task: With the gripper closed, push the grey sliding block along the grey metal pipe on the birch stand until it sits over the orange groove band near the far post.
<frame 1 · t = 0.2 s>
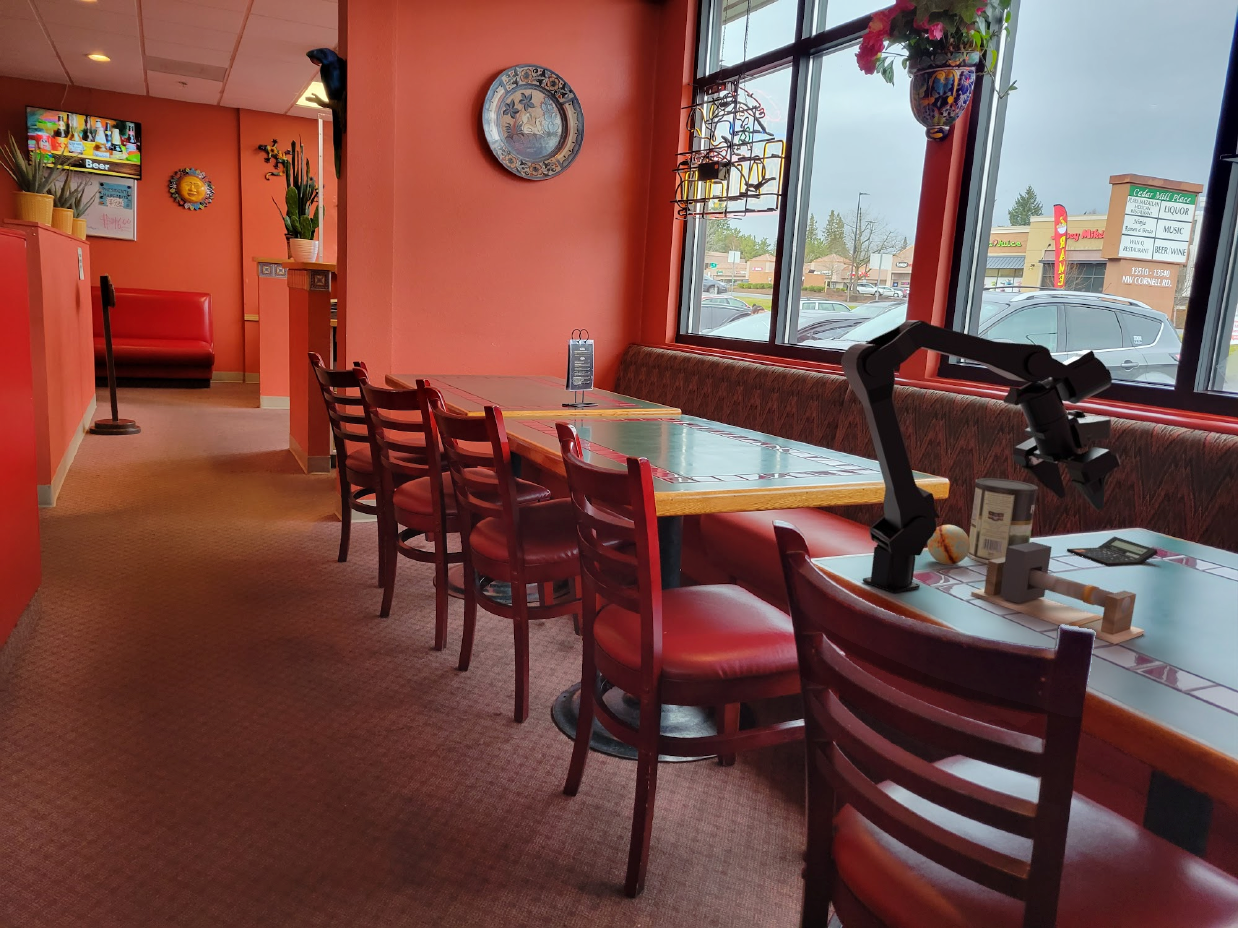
hand: (1080, 503, 138), 14 cm above the table, tool tilted 30°, fingers open, 9 cm apart
pipe stand: (1052, 613, 128), on the table
ball: (946, 564, 152), on the table
grey sliding block: (1025, 572, 131), point 5 cm above the table, slide at 0.0 cm
calculator: (1110, 560, 163), on the table
coffee can: (996, 559, 157), on the table
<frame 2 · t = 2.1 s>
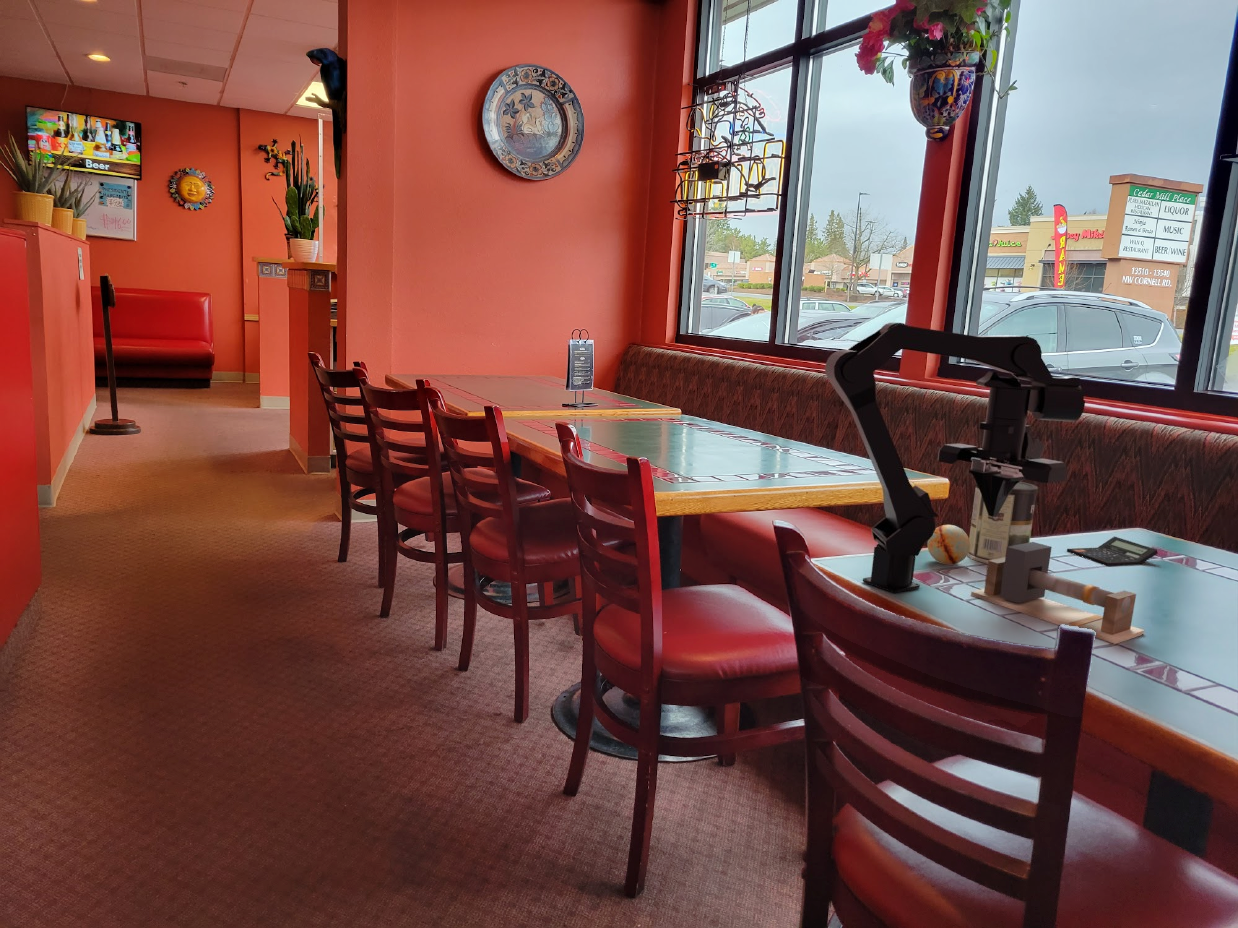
hand: (992, 516, 135), 12 cm above the table, tool pointing down, fingers closed
nothing on the table moved.
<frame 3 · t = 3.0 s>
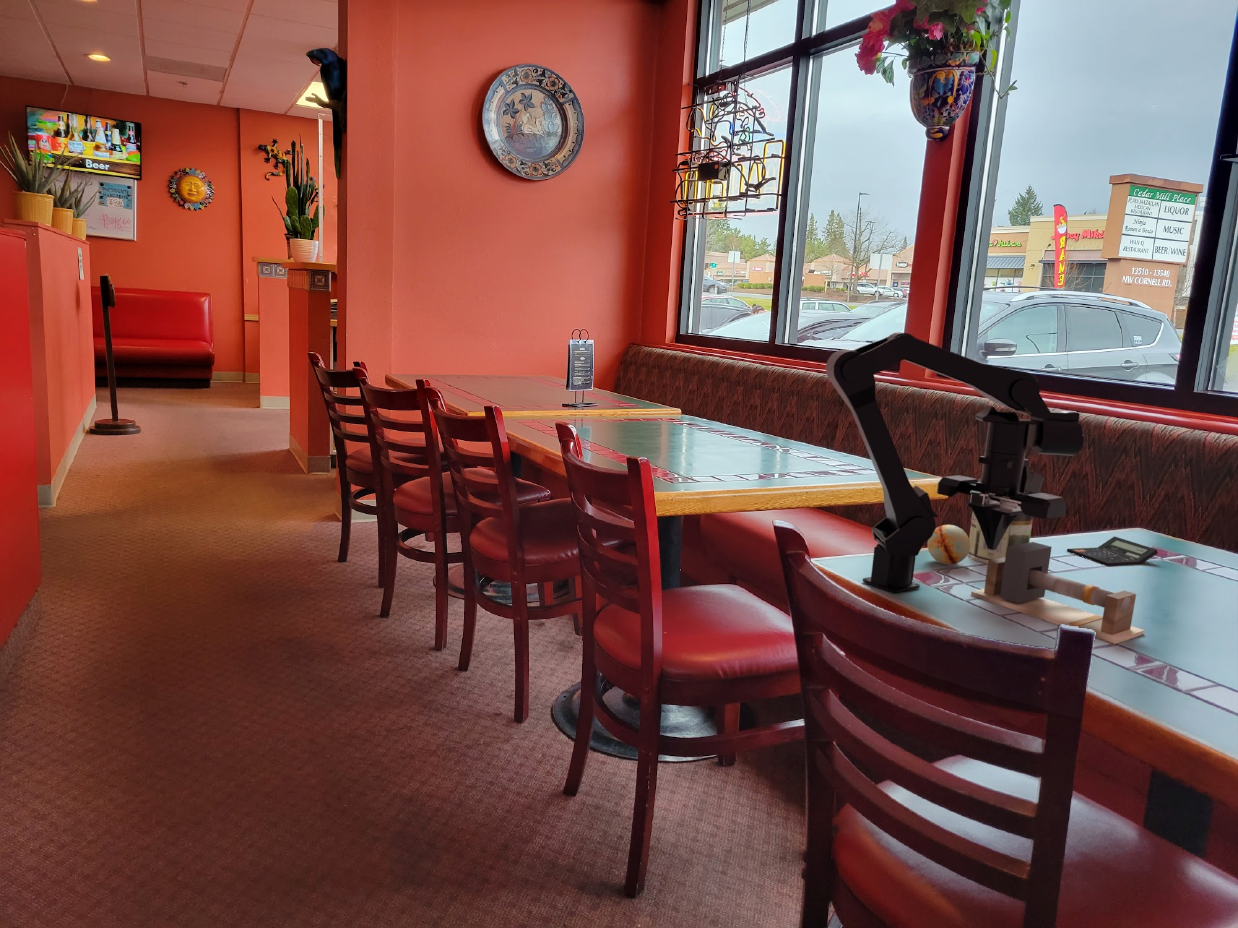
hand: (991, 549, 136), 7 cm above the table, tool pointing down, fingers closed
nothing on the table moved.
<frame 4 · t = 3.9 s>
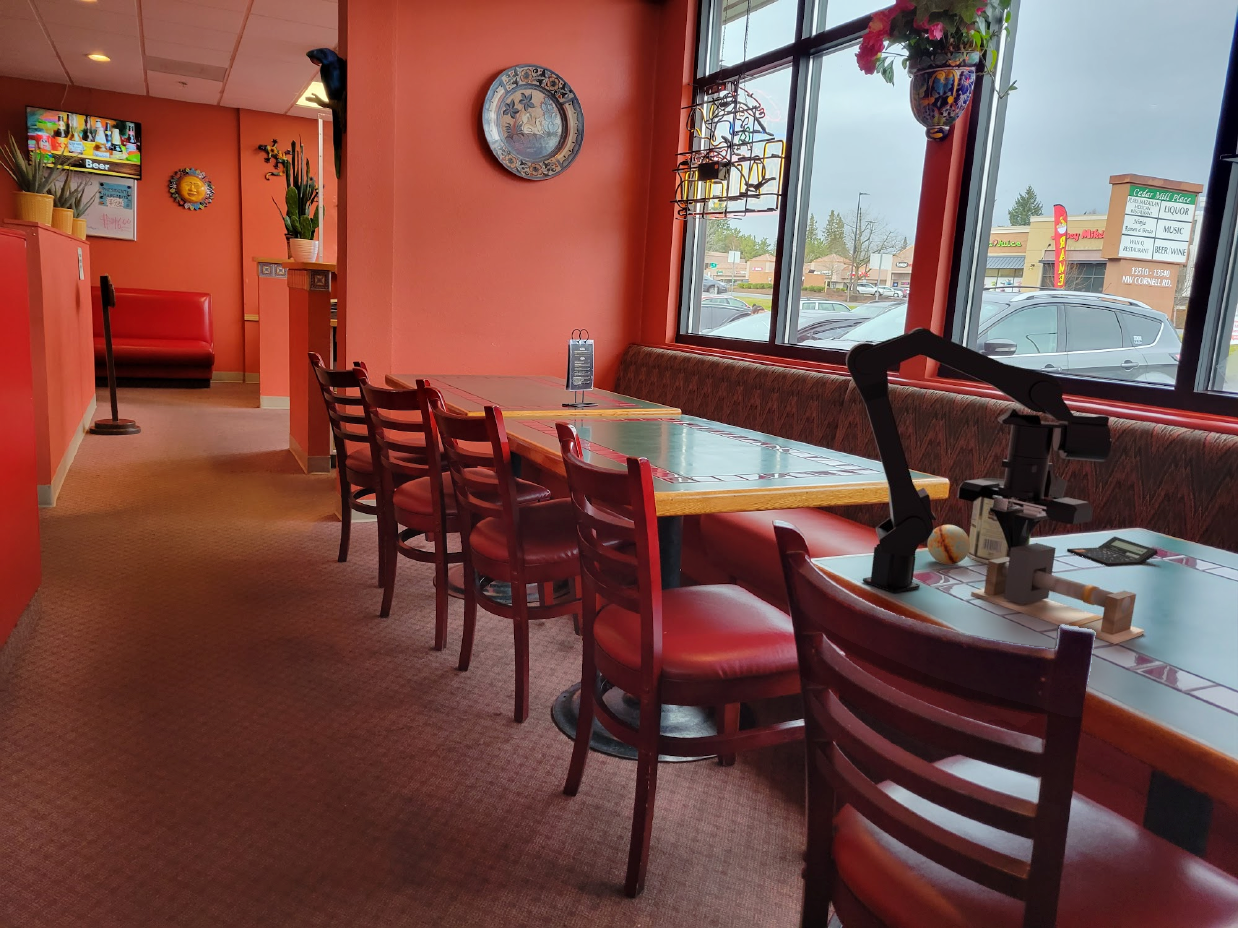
hand: (1014, 555, 132), 7 cm above the table, tool pointing down, fingers closed
grey sliding block: (1029, 573, 131), point 5 cm above the table, slide at 0.6 cm, touching gripper
everything else where it was.
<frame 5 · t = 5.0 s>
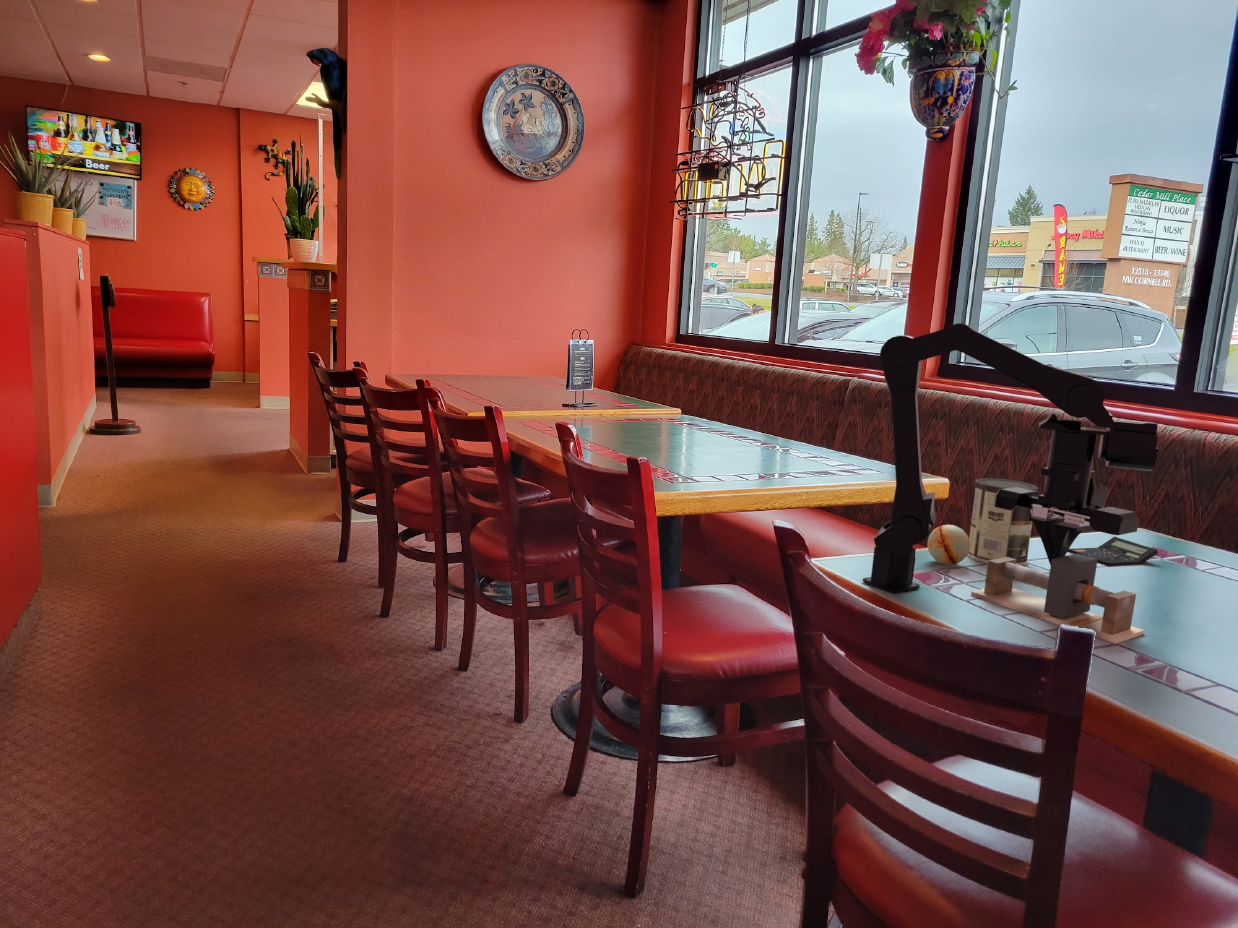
hand: (1054, 566, 127), 7 cm above the table, tool pointing down, fingers closed
grey sliding block: (1070, 585, 125), point 5 cm above the table, slide at 7.0 cm, touching gripper
everything else where it was.
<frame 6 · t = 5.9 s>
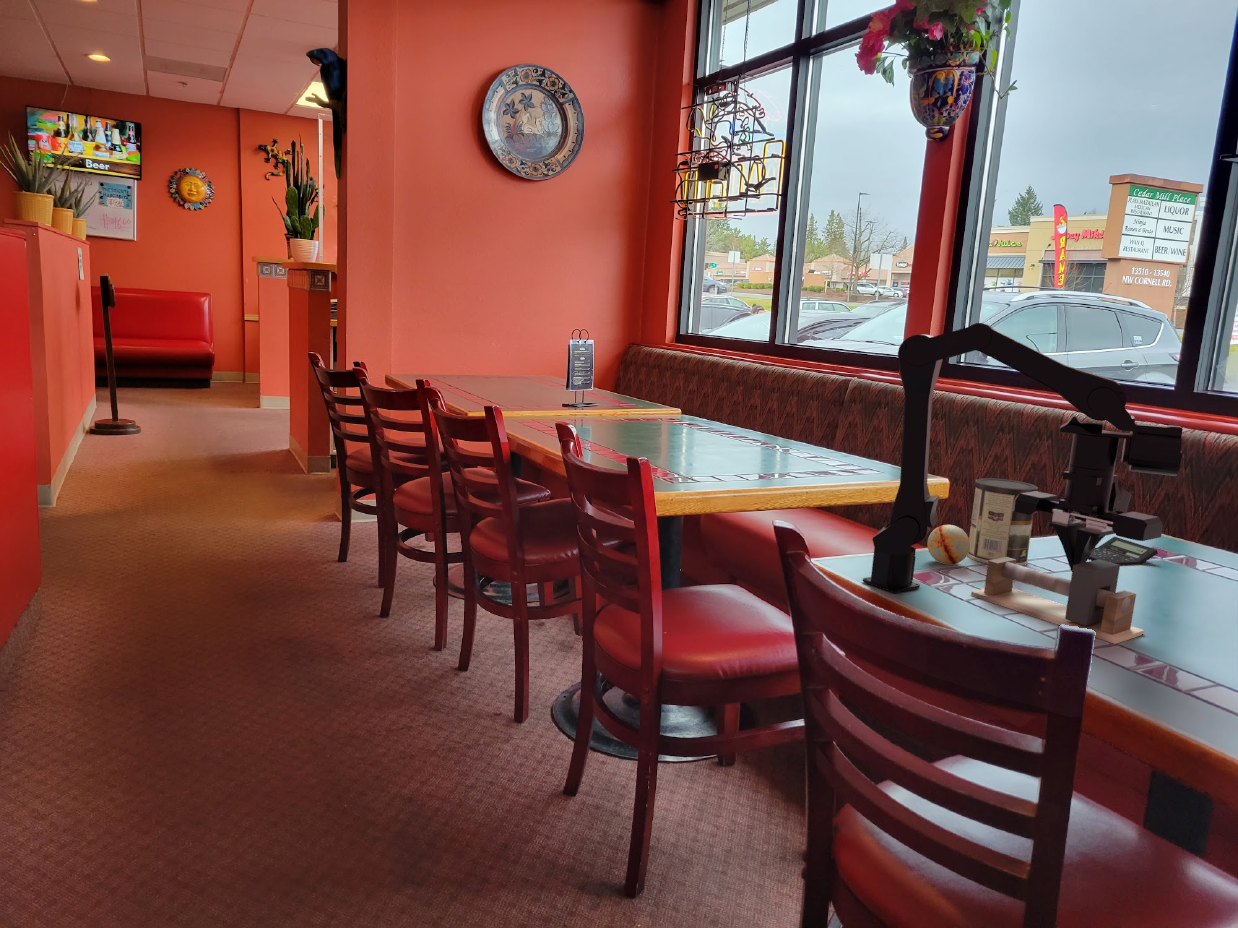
hand: (1075, 572, 125), 7 cm above the table, tool pointing down, fingers closed
grey sliding block: (1092, 591, 123), point 5 cm above the table, slide at 10.1 cm, touching gripper
everything else where it was.
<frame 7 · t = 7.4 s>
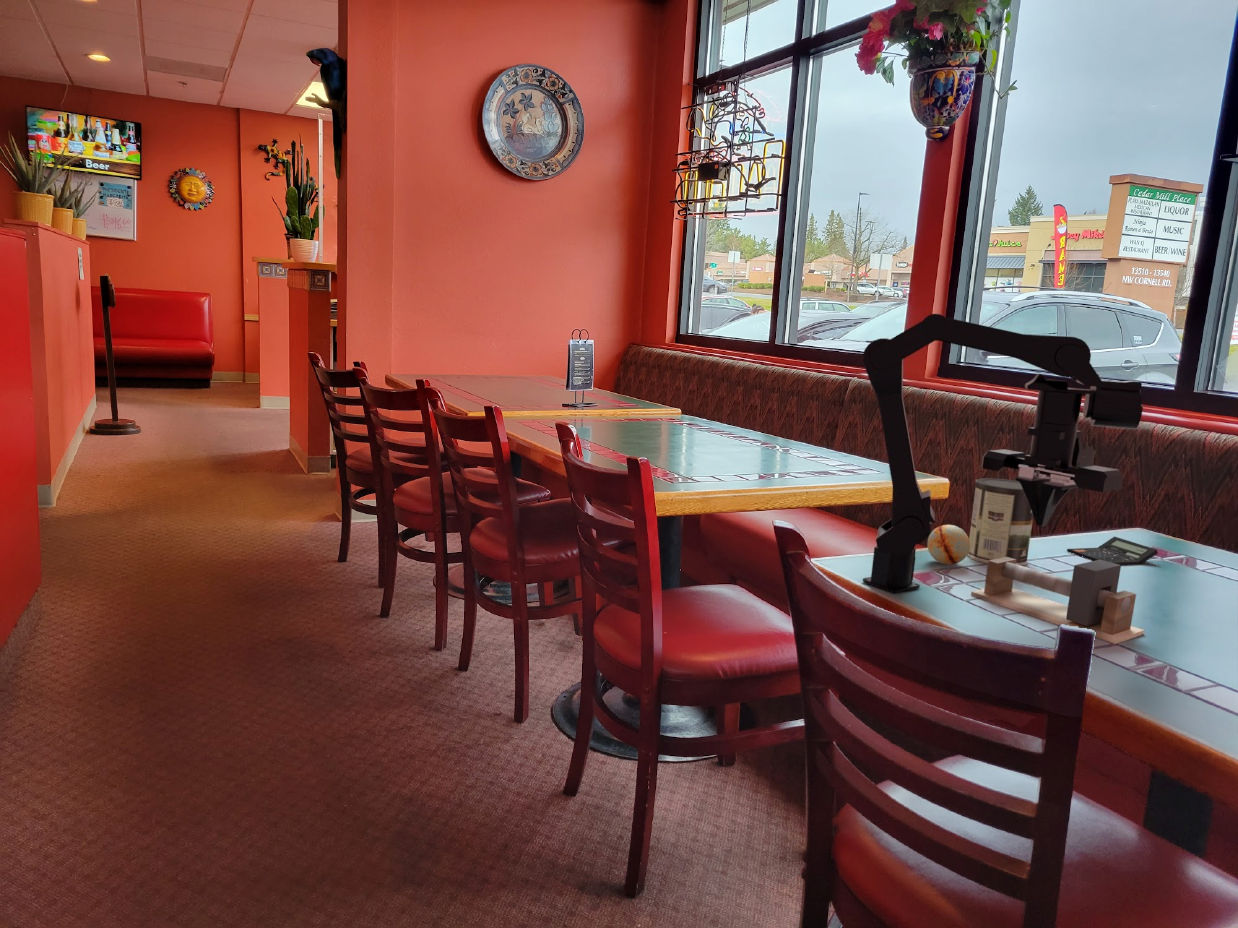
hand: (1041, 525, 129), 13 cm above the table, tool pointing down, fingers closed
grey sliding block: (1093, 592, 123), point 5 cm above the table, slide at 10.3 cm
everything else where it was.
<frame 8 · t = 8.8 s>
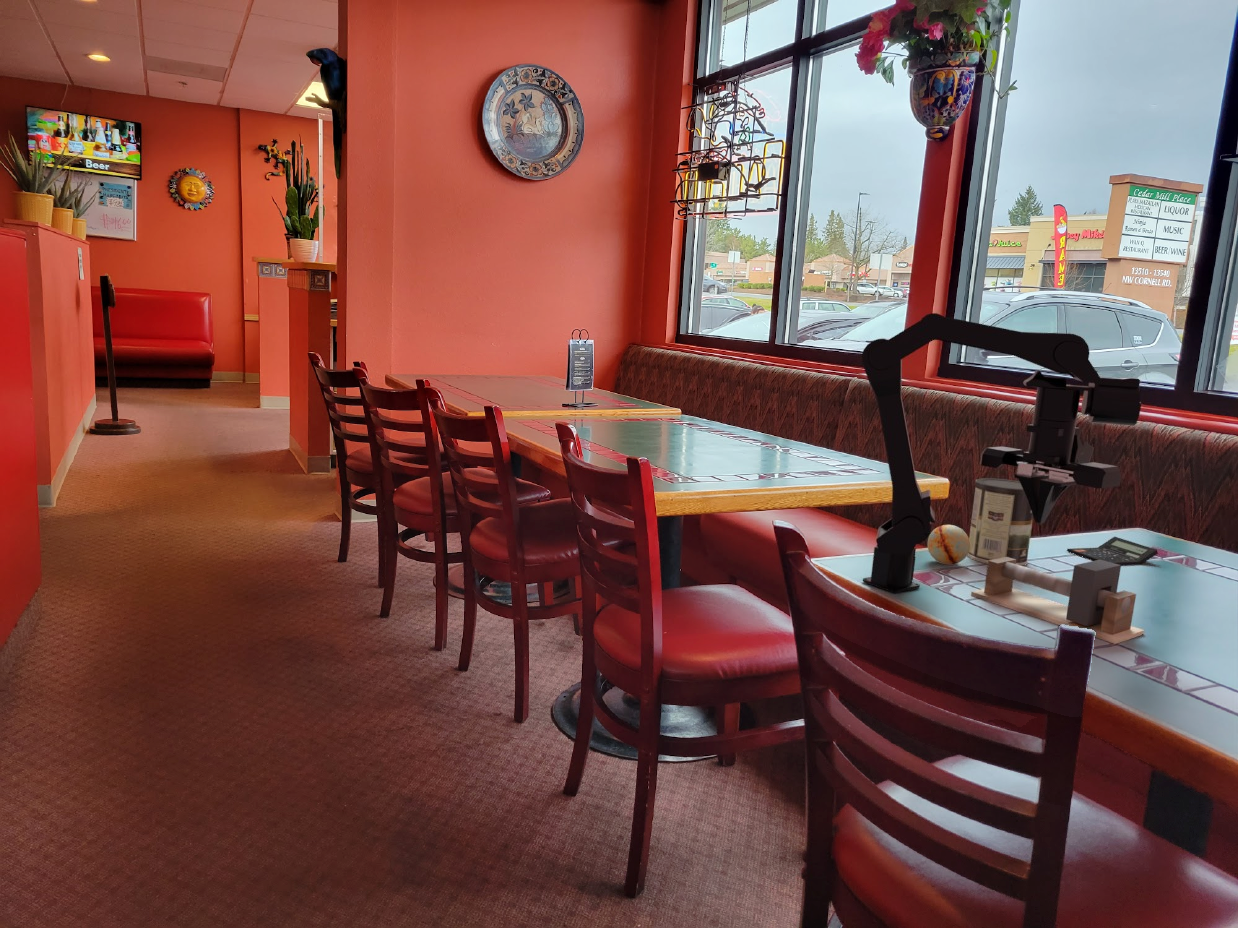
hand: (1039, 522, 129), 13 cm above the table, tool pointing down, fingers closed
nothing on the table moved.
at the end: grey sliding block slide at 10.3 cm; the gripper is holding nothing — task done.
